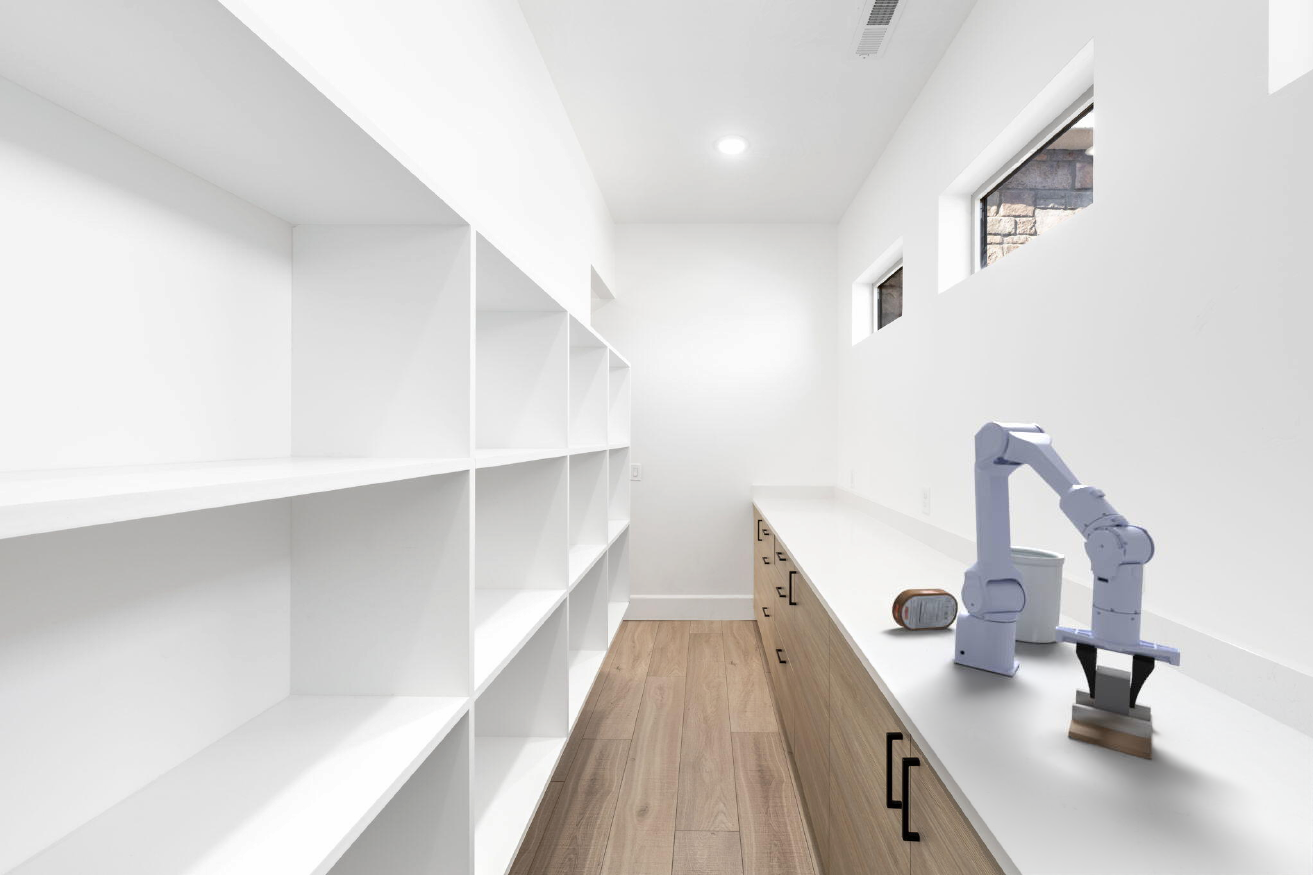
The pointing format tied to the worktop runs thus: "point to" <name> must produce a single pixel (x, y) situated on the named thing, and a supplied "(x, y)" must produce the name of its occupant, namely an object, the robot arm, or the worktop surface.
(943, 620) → the tin
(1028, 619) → the utensil holder
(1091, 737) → the end holder
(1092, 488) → the robot arm
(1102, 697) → the grey rectangular block
